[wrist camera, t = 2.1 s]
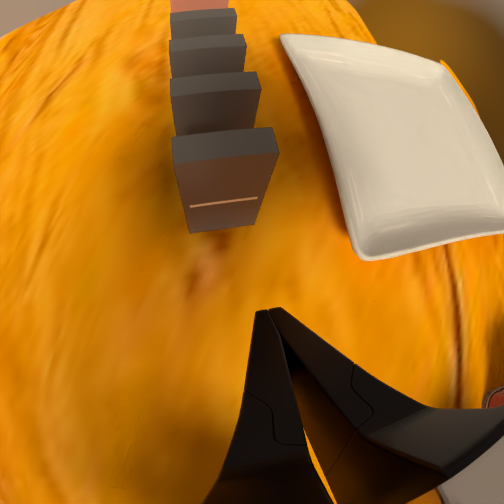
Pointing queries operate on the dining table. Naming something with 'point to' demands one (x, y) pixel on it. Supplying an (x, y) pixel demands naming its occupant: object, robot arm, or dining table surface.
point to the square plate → (399, 146)
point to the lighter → (494, 398)
